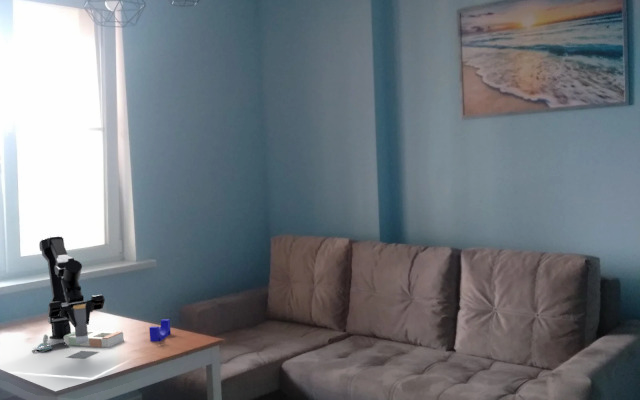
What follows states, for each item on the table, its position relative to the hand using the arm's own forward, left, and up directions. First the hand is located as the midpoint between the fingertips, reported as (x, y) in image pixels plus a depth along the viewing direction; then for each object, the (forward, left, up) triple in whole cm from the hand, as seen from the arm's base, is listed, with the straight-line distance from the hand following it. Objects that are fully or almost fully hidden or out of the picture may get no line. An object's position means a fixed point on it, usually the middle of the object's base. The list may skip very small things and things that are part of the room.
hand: (81, 325), depth 234 cm
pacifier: (-21, +3, -12) cm, 25 cm away
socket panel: (-8, +16, -11) cm, 21 cm away
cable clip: (+13, +26, -12) cm, 32 cm away
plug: (-1, +1, -6) cm, 6 cm away
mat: (-1, +1, -11) cm, 12 cm away
